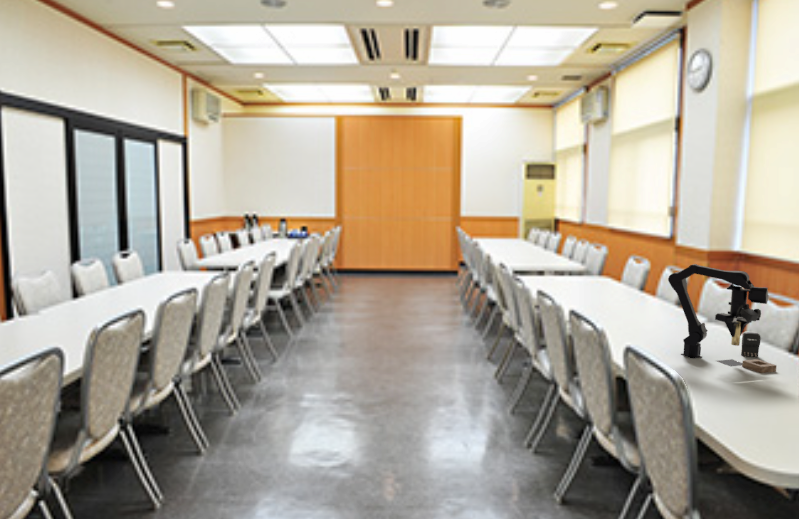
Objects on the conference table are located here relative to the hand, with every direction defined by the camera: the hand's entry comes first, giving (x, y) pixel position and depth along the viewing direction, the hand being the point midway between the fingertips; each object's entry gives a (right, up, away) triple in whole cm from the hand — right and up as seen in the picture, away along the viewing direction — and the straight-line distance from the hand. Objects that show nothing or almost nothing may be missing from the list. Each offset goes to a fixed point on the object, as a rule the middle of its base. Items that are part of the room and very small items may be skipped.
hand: (735, 336), depth 245 cm
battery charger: (+14, -11, +13) cm, 22 cm away
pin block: (+6, -13, -6) cm, 16 cm away
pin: (0, -4, 0) cm, 4 cm away
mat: (-1, -12, +2) cm, 12 cm away
